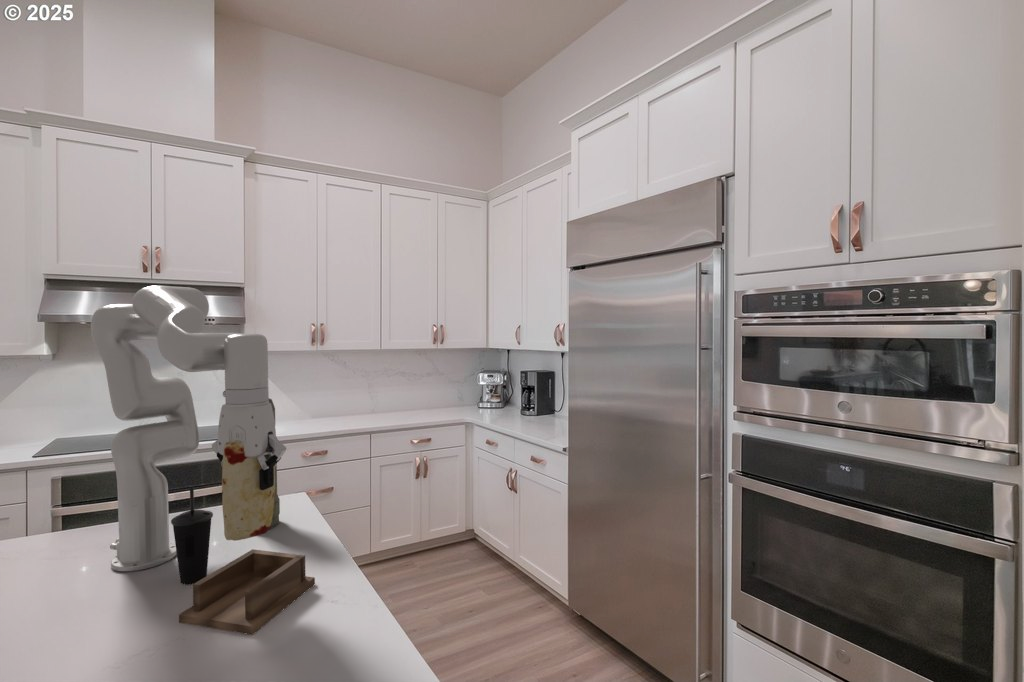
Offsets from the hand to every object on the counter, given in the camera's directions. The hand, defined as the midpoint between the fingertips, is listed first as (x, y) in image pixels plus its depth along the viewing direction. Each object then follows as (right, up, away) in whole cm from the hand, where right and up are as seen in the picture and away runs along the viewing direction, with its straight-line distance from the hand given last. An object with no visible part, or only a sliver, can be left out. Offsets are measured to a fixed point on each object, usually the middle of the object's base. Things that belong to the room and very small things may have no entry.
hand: (249, 486), depth 100 cm
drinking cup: (-17, -23, +10) cm, 31 cm away
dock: (0, -23, +1) cm, 23 cm away
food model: (0, -10, 0) cm, 10 cm away
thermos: (-17, -22, +40) cm, 49 cm away
